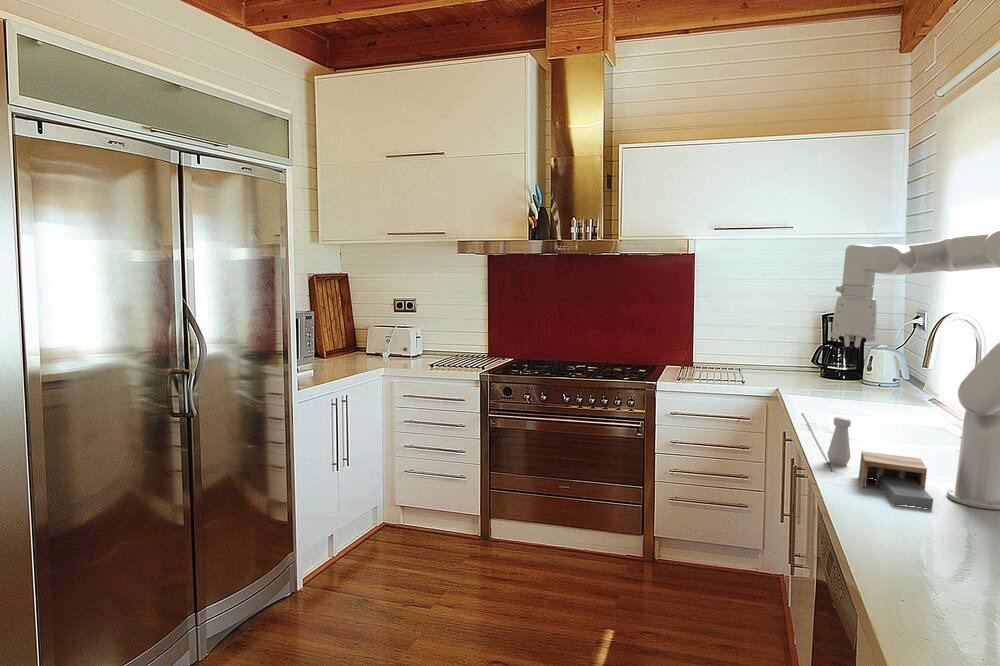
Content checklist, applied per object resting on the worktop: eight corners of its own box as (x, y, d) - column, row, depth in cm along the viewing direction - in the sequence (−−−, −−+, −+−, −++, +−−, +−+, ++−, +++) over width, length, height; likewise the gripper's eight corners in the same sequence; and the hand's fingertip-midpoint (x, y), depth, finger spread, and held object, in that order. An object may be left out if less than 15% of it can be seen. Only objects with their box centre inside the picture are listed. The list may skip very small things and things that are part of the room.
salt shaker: (850, 468, 207) (855, 421, 206) (827, 465, 209) (832, 418, 208) (848, 462, 213) (852, 416, 211) (825, 459, 215) (830, 414, 213)
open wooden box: (858, 476, 200) (861, 451, 199) (917, 484, 195) (920, 458, 194) (861, 487, 190) (864, 460, 190) (923, 496, 186) (927, 468, 185)
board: (878, 486, 193) (879, 475, 193) (913, 490, 191) (914, 479, 191) (893, 507, 178) (894, 494, 178) (931, 511, 176) (933, 499, 176)
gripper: (826, 290, 199) (819, 360, 201) (890, 294, 194) (882, 366, 196) (825, 289, 206) (818, 357, 208) (887, 293, 201) (879, 362, 203)
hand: (849, 361), depth 202 cm, fingers closed
